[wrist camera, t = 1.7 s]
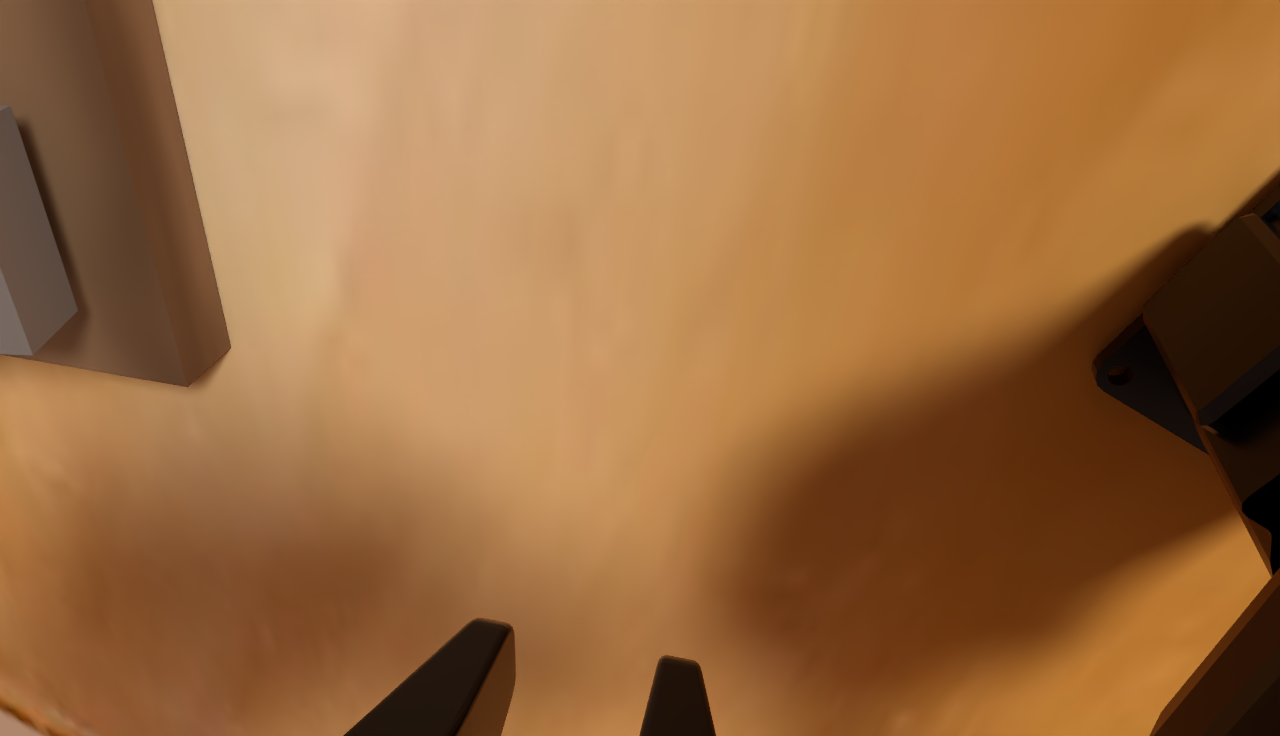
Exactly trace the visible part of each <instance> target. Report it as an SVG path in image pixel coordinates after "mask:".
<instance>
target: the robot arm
mask: <svg viewBox="0 0 1280 736" xmlns="http://www.w3.org/2000/svg"><path fill="white" fill-rule="evenodd" d="M1117 366H1126V367H1129V368H1128V369H1127V371H1126V372H1124V373H1123V374H1121V375H1115V376H1113V375H1109V372H1110V371H1111V370H1112V369H1113V368H1115V367H1117ZM1092 371H1093V374H1094V377H1095V380H1096V382H1097V385H1098V386H1099V387H1100V388H1101V389H1102V390H1103V391H1104V392H1106V393H1108V394H1109V395H1111V396H1112V397H1114V398H1116V399H1117V400H1119V401H1121V402H1122V403H1124V404H1126V405H1127V406H1129V407H1131V408H1132V409H1134V410H1136V411H1137V412H1139V413H1141V414H1142V415H1144V416H1146V417H1147V418H1149V419H1150V420H1152V421H1154V422H1155V423H1157V424H1159V425H1160V426H1162V427H1164V428H1165V429H1167V430H1169V431H1170V432H1172V433H1174V434H1175V435H1177V436H1179V437H1180V438H1182V439H1183V440H1185V441H1187V442H1188V443H1190V444H1192V445H1193V446H1195V447H1197V448H1198V449H1200V450H1202V451H1203V452H1205V453H1207V454H1208V455H1209V456H1210V458H1211V460H1212V462H1213V464H1214V466H1215V468H1216V470H1217V472H1218V473H1219V475H1220V477H1221V479H1222V481H1223V483H1224V485H1225V487H1226V489H1227V491H1228V493H1229V495H1230V497H1231V499H1232V501H1233V503H1234V505H1235V507H1236V509H1237V511H1238V513H1239V515H1240V517H1241V519H1242V521H1243V523H1244V524H1245V526H1246V528H1247V530H1248V532H1249V534H1250V536H1251V538H1252V540H1253V542H1254V544H1255V546H1256V548H1257V550H1258V552H1259V554H1260V556H1261V558H1262V560H1263V562H1264V564H1265V566H1266V568H1267V570H1268V572H1269V573H1270V575H1271V577H1272V578H1271V579H1270V580H1269V581H1268V583H1267V584H1266V585H1265V586H1264V588H1263V589H1262V590H1261V591H1260V592H1259V594H1258V595H1257V596H1256V597H1255V599H1254V600H1253V601H1252V602H1251V603H1250V605H1249V606H1248V607H1247V608H1246V609H1245V611H1244V612H1243V613H1242V614H1241V616H1240V617H1239V618H1238V619H1237V620H1236V622H1235V623H1234V624H1233V625H1232V627H1231V628H1230V629H1229V630H1228V631H1227V633H1226V634H1225V635H1224V636H1223V638H1222V639H1221V640H1220V641H1219V642H1218V644H1217V645H1216V646H1215V647H1214V648H1213V650H1212V651H1211V652H1210V653H1209V655H1208V656H1207V657H1206V658H1205V659H1204V661H1203V662H1202V663H1201V664H1200V666H1199V667H1198V668H1197V669H1196V670H1195V672H1194V673H1193V674H1192V675H1191V676H1190V678H1189V679H1188V680H1187V681H1186V683H1185V684H1184V685H1183V686H1182V687H1181V689H1180V690H1179V691H1178V692H1177V694H1176V695H1175V696H1174V697H1173V698H1172V700H1171V701H1170V702H1169V703H1168V704H1167V706H1166V707H1165V708H1164V709H1163V711H1162V712H1161V714H1160V716H1159V718H1158V720H1157V722H1156V724H1155V726H1154V728H1153V730H1152V732H1151V734H1150V736H1280V185H1279V186H1278V187H1277V188H1276V189H1275V190H1274V191H1273V192H1272V193H1270V194H1269V195H1268V196H1267V197H1266V198H1265V199H1264V200H1263V201H1262V202H1261V203H1260V204H1259V205H1258V206H1257V207H1256V208H1254V209H1253V210H1252V211H1251V212H1250V213H1249V214H1248V215H1244V216H1241V217H1237V218H1235V219H1234V220H1233V221H1232V222H1231V223H1230V224H1229V225H1228V226H1227V227H1225V228H1224V229H1223V230H1222V231H1221V232H1220V233H1219V234H1218V235H1217V236H1216V237H1215V238H1214V239H1213V240H1212V241H1211V242H1210V243H1208V244H1207V245H1206V246H1205V247H1204V248H1203V249H1202V250H1201V251H1200V252H1199V253H1198V254H1197V255H1196V256H1195V257H1194V258H1193V259H1192V260H1190V261H1189V262H1188V263H1187V264H1186V265H1185V266H1184V267H1183V268H1182V269H1181V270H1180V271H1179V272H1178V273H1177V274H1176V275H1175V276H1173V277H1172V278H1171V279H1170V280H1169V281H1168V282H1167V283H1166V284H1165V285H1164V286H1163V287H1162V288H1161V289H1160V290H1159V291H1158V292H1156V293H1155V294H1154V295H1153V296H1152V297H1151V298H1150V299H1149V300H1148V301H1147V302H1146V303H1145V304H1144V306H1143V313H1142V314H1141V315H1140V316H1139V317H1138V318H1137V319H1136V320H1135V321H1134V322H1133V323H1132V324H1131V325H1130V326H1128V327H1127V328H1126V329H1125V330H1124V331H1123V332H1122V333H1121V334H1120V335H1119V336H1118V337H1117V338H1116V339H1115V340H1114V341H1112V342H1111V343H1110V344H1109V345H1108V346H1107V347H1106V348H1105V349H1104V350H1103V351H1102V352H1101V353H1100V354H1099V355H1098V356H1097V357H1096V359H1095V360H1094V361H1093V365H1092ZM515 678H516V666H515V636H514V630H513V627H512V626H511V625H510V624H508V623H504V622H499V621H494V620H489V619H484V618H477V619H474V620H472V621H470V622H469V623H468V624H467V625H466V626H465V627H464V628H462V629H461V630H460V631H459V632H458V633H457V634H456V635H455V636H454V637H452V638H451V639H450V640H449V641H448V642H447V643H446V644H445V645H444V646H442V647H441V648H440V649H439V650H438V651H437V652H436V653H435V654H434V655H432V656H431V657H430V658H429V659H428V660H427V661H426V662H425V663H424V664H422V665H421V666H420V667H419V668H418V669H417V670H416V671H415V672H414V673H412V674H411V675H410V676H409V677H408V678H407V679H406V680H405V681H404V682H402V683H401V684H400V685H399V686H398V687H397V688H396V689H395V690H394V691H393V692H391V693H390V694H389V695H388V696H387V697H386V698H385V699H384V700H383V701H381V702H380V703H379V704H378V705H377V706H376V707H375V708H374V709H373V710H371V711H370V712H369V713H368V714H367V715H366V716H365V717H364V718H363V719H361V720H360V721H359V722H358V723H357V724H356V725H355V726H354V727H353V728H351V729H350V730H349V731H348V732H347V733H346V734H345V735H344V736H501V734H502V730H503V727H504V723H505V720H506V716H507V713H508V709H509V706H510V702H511V699H512V695H513V691H514V686H515ZM639 736H716V733H715V729H714V724H713V720H712V715H711V711H710V707H709V702H708V698H707V693H706V689H705V684H704V680H703V675H702V671H701V668H700V666H699V664H698V663H697V662H696V661H693V660H689V659H684V658H679V657H674V656H669V655H665V656H662V657H661V658H660V659H659V661H658V664H657V668H656V672H655V676H654V680H653V684H652V688H651V692H650V696H649V700H648V703H647V707H646V711H645V715H644V719H643V723H642V727H641V731H640V735H639Z"/></svg>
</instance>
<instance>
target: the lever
mask: <svg viewBox="0 0 1280 736" xmlns="http://www.w3.org/2000/svg"><path fill="white" fill-rule="evenodd" d="M77 311H78V309H77V306H76V303H75V300H74V297H73V294H72V290H71V287H70V284H69V281H68V278H67V275H66V272H65V269H64V266H63V263H62V260H61V257H60V254H59V251H58V248H57V245H56V242H55V239H54V236H53V233H52V230H51V227H50V224H49V221H48V218H47V214H46V211H45V208H44V205H43V202H42V199H41V196H40V193H39V190H38V187H37V184H36V181H35V178H34V175H33V172H32V169H31V166H30V163H29V160H28V157H27V154H26V151H25V148H24V145H23V141H22V138H21V135H20V132H19V129H18V126H17V123H16V120H15V117H14V114H13V111H12V108H11V105H0V354H9V355H34V354H35V353H36V352H37V351H38V350H39V349H40V348H41V347H42V346H43V345H44V344H45V343H46V342H47V341H48V340H49V339H50V338H51V337H52V336H53V335H54V334H55V333H56V332H57V331H58V330H59V329H60V328H61V327H62V326H63V325H64V324H65V323H66V322H67V321H68V320H69V319H70V318H71V317H72V316H73V315H74V314H75V313H76V312H77Z"/></svg>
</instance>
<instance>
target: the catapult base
mask: <svg viewBox="0 0 1280 736" xmlns="http://www.w3.org/2000/svg"><path fill="white" fill-rule="evenodd" d="M0 105H11V108H12V111H13V114H14V117H15V120H16V123H17V126H18V129H19V132H20V135H21V138H22V141H23V145H24V148H25V151H26V154H27V157H28V160H29V163H30V166H31V169H32V172H33V175H34V178H35V181H36V184H37V187H38V190H39V193H40V196H41V199H42V202H43V205H44V208H45V211H46V214H47V218H48V221H49V224H50V227H51V230H52V233H53V236H54V239H55V242H56V245H57V248H58V251H59V254H60V257H61V260H62V263H63V266H64V269H65V272H66V275H67V278H68V281H69V284H70V287H71V290H72V294H73V297H74V300H75V303H76V306H77V309H78V311H77V312H76V313H75V314H74V315H73V316H72V317H71V318H70V319H69V320H68V321H67V322H66V323H65V324H64V325H63V326H62V327H61V328H60V329H59V330H58V331H57V332H56V333H55V334H54V335H53V336H52V337H51V338H50V339H49V340H48V341H47V342H46V343H45V344H44V345H43V346H42V347H41V348H40V349H39V350H38V351H37V352H36V353H35V354H34V355H9V354H1V355H6V356H12V357H18V358H24V359H29V360H35V361H41V362H47V363H52V364H58V365H64V366H70V367H75V368H81V369H87V370H93V371H98V372H104V373H110V374H116V375H121V376H127V377H133V378H139V379H145V380H150V381H156V382H162V383H168V384H173V385H179V386H185V387H188V386H189V385H190V384H191V383H193V382H194V381H195V380H196V379H197V378H198V377H199V376H200V375H201V374H202V373H204V372H205V371H206V370H207V369H208V368H209V367H210V366H211V365H212V364H213V363H215V362H216V361H217V360H218V359H219V358H220V357H221V356H222V355H223V354H224V353H226V352H227V351H228V350H229V349H230V348H231V346H230V341H229V337H228V333H227V328H226V324H225V319H224V315H223V311H222V306H221V302H220V298H219V293H218V289H217V284H216V280H215V276H214V271H213V267H212V262H211V258H210V254H209V249H208V245H207V241H206V236H205V232H204V227H203V223H202V219H201V214H200V210H199V205H198V201H197V197H196V192H195V188H194V184H193V179H192V175H191V170H190V166H189V162H188V157H187V153H186V148H185V144H184V140H183V135H182V131H181V127H180V122H179V118H178V113H177V109H176V105H175V100H174V96H173V92H172V87H171V83H170V78H169V74H168V70H167V65H166V61H165V56H164V52H163V48H162V43H161V39H160V35H159V30H158V26H157V21H156V17H155V13H154V8H153V4H152V0H0Z"/></svg>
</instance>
